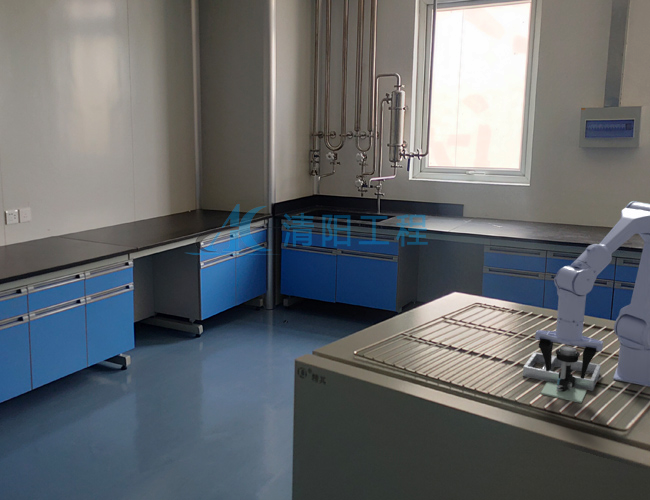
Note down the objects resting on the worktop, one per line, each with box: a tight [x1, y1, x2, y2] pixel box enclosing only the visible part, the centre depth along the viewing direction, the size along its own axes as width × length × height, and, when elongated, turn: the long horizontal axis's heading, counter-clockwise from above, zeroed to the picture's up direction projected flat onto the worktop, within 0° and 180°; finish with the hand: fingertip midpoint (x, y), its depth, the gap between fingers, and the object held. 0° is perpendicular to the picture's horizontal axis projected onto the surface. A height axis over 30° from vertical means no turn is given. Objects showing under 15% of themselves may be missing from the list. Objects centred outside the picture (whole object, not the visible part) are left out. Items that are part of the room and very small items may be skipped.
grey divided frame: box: [522, 351, 602, 392], centre depth 153 cm, size 16×12×2 cm
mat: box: [540, 381, 588, 404], centre depth 143 cm, size 9×7×1 cm
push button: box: [555, 345, 581, 392], centre depth 143 cm, size 7×5×10 cm
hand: (565, 373), depth 142 cm, fingers open, 7 cm apart
